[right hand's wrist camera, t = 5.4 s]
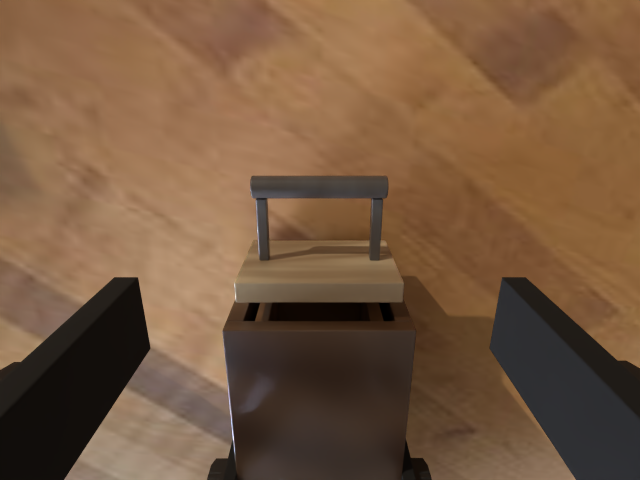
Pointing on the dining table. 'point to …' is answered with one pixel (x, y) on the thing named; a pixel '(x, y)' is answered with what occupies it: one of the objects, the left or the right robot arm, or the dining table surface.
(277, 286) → the drawer
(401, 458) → the cabinet
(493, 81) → the dining table surface
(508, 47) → the dining table surface
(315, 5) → the dining table surface
